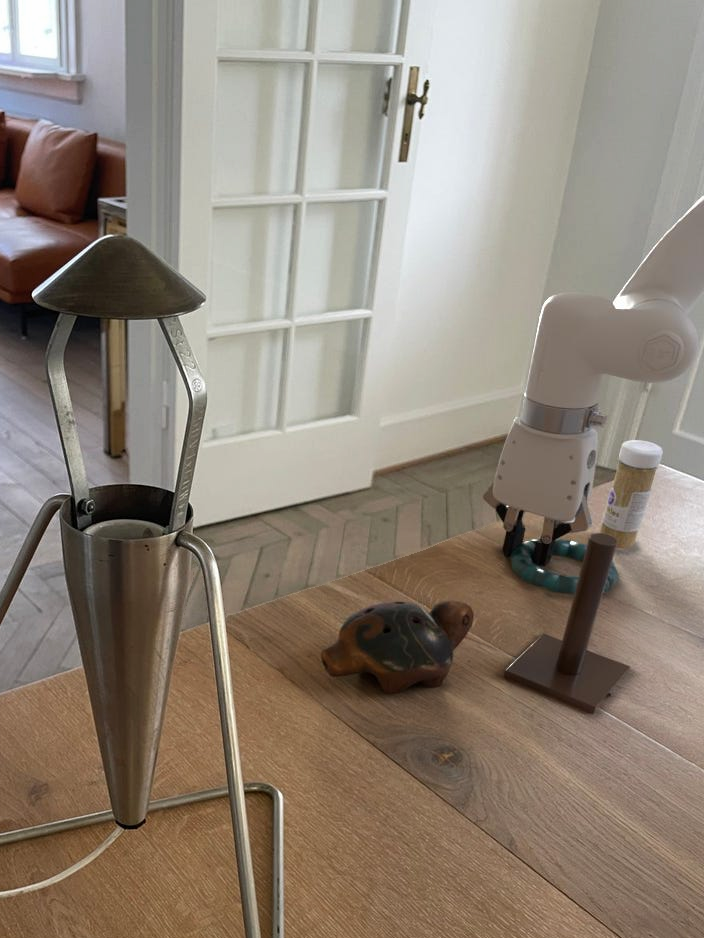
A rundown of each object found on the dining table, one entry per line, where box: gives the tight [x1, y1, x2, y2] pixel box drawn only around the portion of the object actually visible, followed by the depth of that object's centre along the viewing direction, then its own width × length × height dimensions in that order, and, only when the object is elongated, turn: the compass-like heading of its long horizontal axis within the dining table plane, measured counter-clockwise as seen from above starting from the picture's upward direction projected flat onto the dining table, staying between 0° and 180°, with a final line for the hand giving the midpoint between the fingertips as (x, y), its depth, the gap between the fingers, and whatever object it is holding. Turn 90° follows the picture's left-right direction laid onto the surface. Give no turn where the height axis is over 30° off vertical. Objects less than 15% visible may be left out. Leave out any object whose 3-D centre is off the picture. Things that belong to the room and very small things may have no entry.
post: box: [503, 532, 631, 715], centre depth 91 cm, size 9×9×16 cm
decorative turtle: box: [320, 599, 474, 694], centre depth 92 cm, size 10×15×8 cm, turn 112°
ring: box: [509, 538, 619, 595], centre depth 112 cm, size 12×12×2 cm
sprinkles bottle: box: [599, 439, 664, 549], centre depth 116 cm, size 5×5×13 cm
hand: (524, 562), depth 115 cm, fingers closed on ring, 2 cm apart
